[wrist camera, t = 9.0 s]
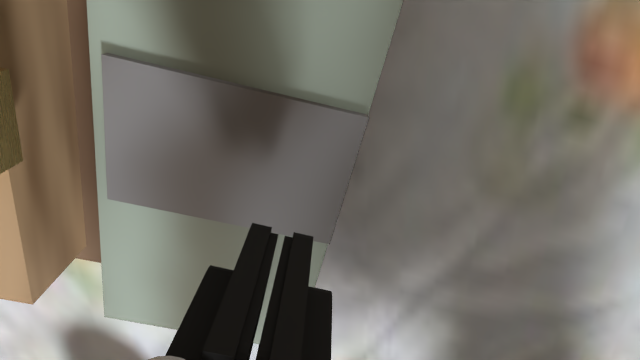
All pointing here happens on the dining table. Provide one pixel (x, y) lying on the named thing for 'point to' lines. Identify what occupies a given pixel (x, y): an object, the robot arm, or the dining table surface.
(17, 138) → the brass bolt
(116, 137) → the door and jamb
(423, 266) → the dining table surface
